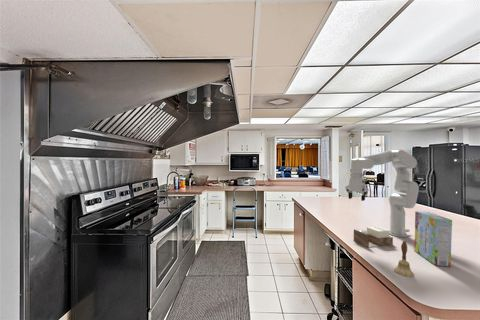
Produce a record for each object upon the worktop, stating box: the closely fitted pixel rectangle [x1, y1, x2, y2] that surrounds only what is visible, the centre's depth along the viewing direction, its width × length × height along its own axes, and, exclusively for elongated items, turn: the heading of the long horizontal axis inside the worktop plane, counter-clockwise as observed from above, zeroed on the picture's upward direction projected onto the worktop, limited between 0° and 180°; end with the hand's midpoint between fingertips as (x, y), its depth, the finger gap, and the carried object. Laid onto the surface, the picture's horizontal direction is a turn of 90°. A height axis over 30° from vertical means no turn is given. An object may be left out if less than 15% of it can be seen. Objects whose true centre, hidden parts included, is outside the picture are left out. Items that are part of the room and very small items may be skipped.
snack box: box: [413, 210, 453, 268], centre depth 136 cm, size 22×9×26 cm, turn 168°
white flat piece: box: [356, 229, 367, 233], centre depth 180 cm, size 7×7×3 cm
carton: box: [366, 226, 390, 238], centre depth 162 cm, size 9×10×4 cm
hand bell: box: [393, 240, 415, 277], centre depth 119 cm, size 8×8×16 cm
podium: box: [353, 229, 394, 248], centre depth 161 cm, size 21×13×8 cm, turn 104°
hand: (356, 199), depth 168 cm, fingers open, 9 cm apart
